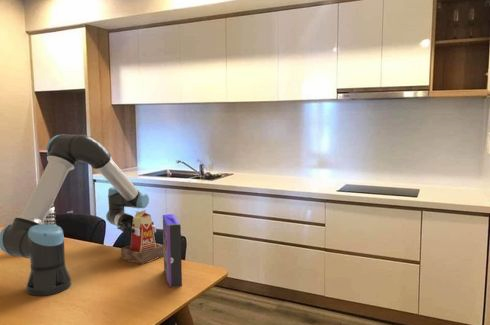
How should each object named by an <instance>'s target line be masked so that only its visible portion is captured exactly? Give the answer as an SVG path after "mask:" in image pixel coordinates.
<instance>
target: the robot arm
mask: <svg viewBox="0 0 490 325" xmlns="http://www.w3.org/2000/svg"><path fill="white" fill-rule="evenodd" d="M46 154H47V156H46V159H47V162H48V163H47V165H46V166H45V169H44V170H43V172H42V174H41V177H40V178H39V180H38V183H37V184H36V186H35V188H34V189H33V192H32V193H31V195H30V198H29V200H28V201H27V203H26V205H25V207H24V209H23V212H22V213H21V214H20V215H18V216H15V217H14V220H13V221H12V223H10V224H8V225H7V226H4V227H3V228H2V229H1V231H0V250H1V251H2V252H3V253H5V254H7V255H10V256H12V257H19V258H25V259H29V262H30V273H29V276H28V278H27V283H26V293H27V294H29V295H31V296H38V297H39V296H40V297H41V296H50V295H54V294H58V293H61V292H63V291H66V290H67V289H68V288H70V287H71V285H72V278H71V275H70V273H69V271H68V268H67V266H66V261H65V260H66V258H65V255H66V254H65V236H64V230H63V229H62V227H61V226H59V225H57V224H56V225H53V224H44V221H45V219H46V216H47V214H48V212H49V210H50V208H51V206H52V204H53V202H55V200H56V198H57V196H58V194H59V192H60V189H61V188H62V186H63V184H64V182H65V179H66V177H67V176H68V173H69V172H70V171H72V170H74V169H75V168H76V165H77V163H85V164H87V165H89V166H90V167H91V168H93V169H94V170H97V171H98V172H99V173H100V174H101V175H102V176H103V178H105V179H106V181H108V183H110V185H111V187H109V188H108V191H107V192H108V193H107V194H108V195H107V198H108V211H107V212H106V215H105V218H106V221H107V222H108V223H110V224H112V225H114V226H116V227H117V229H118V230H120V231H122V233H124V234H126V233H128V235H131V234H132V233H134V234H136V235H138V236H140V229H138V228H135V227H132V224H133V218H134V216H133V215H132V214H129V213H127V212H125V208H133V209H134V208H135V209H145V208H147V207H148V206H149V202H150V197H149V195H148V194H147V193H145V192H140V190H139V189H138V188H137V187H136V186H135V184H133V182H132V181H131V180H130V179H129V177H128V176H127V175H126V174H125V173H124V172H123V171H122V169H121V168H120V166H118V165H117V164H116V162H115V161H114V160H113V158H112V154H111V153H110V151H109V150H108V149H107V147H105V146H104V145H103V144H102V143H101V142H100V141H99V140H97V139H96V138H94V137H92V136H89V135H87V134H67V133H63V134H57V135H55V136H53V137H51V138H50V139H49V140H48V142H47V145H46ZM152 226H153V232H154V233H157V226H156V225H154V221H152Z"/></svg>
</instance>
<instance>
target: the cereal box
mask: <svg viewBox="0 0 490 325" xmlns="http://www.w3.org/2000/svg"><path fill="white" fill-rule="evenodd" d="M162 238H163V239H162V242H163V243H162V245H163V246H164V256H163V271H165V272H164V274H166V275H165V278H166V277H167V278H166V280H167V284H169V285H168V287H169V288H173V286H175V287H182V286H183V276H182V275H183V272H182V269H183V268H182V265H183V264H182V231H181V223H180V221H179V220H178V219H177V217H176V215H175V214H171V213H169V214H162Z"/></svg>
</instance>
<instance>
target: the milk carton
mask: <svg viewBox="0 0 490 325" xmlns="http://www.w3.org/2000/svg"><path fill="white" fill-rule="evenodd" d="M133 217H134V218H133V224H132V227H135V228H138V229H140V236H138V235H136V234H134V233H132V234H130V235H131V236H130V245H131V250H133V251H137V252H141V253H142V252H145V251H148V250H151V249H153V248H156V244H157V243H156V240H155V239H156V238H155V232H153V226H152V222H153V221H152V215H151V214H149V213H147V211H146V209H144V210H141V211H138V210H137V211H135V215H134V216H133Z"/></svg>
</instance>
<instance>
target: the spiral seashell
mask: <svg viewBox="0 0 490 325" xmlns="http://www.w3.org/2000/svg"><path fill="white" fill-rule="evenodd" d="M54 202H55V201H54ZM54 202H53V204H52V206H51V208H50V210H49V212H48V214H47V216H46V219H45V221H44V224H53V225H57V223H56V221H57V219H55V218H56V217H57V215H56V214H57V212H55V211H56V208H55V204H54Z"/></svg>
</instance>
